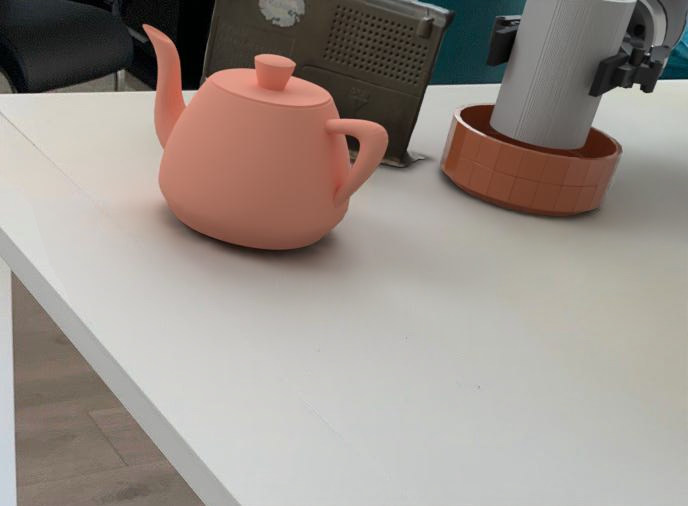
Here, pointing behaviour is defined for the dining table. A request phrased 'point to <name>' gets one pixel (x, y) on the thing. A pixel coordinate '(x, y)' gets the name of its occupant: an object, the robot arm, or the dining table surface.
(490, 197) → the bowl
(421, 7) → the radio
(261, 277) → the dining table surface
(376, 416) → the dining table surface
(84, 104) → the dining table surface
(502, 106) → the cup
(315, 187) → the teapot
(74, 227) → the dining table surface
